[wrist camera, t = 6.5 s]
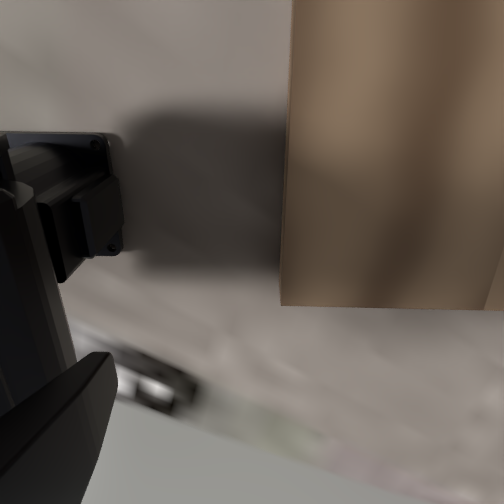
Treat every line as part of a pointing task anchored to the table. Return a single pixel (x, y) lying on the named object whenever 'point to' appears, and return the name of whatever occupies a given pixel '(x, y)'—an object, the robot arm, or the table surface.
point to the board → (394, 155)
